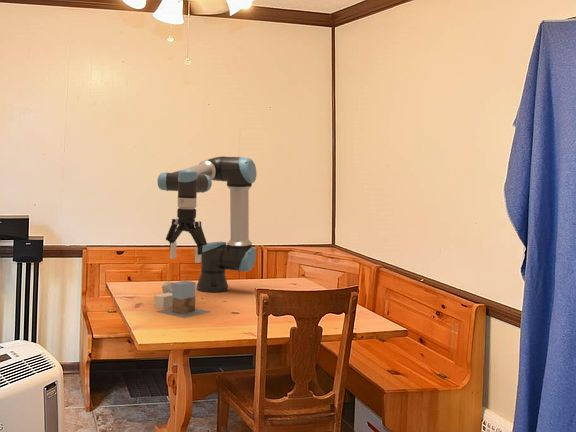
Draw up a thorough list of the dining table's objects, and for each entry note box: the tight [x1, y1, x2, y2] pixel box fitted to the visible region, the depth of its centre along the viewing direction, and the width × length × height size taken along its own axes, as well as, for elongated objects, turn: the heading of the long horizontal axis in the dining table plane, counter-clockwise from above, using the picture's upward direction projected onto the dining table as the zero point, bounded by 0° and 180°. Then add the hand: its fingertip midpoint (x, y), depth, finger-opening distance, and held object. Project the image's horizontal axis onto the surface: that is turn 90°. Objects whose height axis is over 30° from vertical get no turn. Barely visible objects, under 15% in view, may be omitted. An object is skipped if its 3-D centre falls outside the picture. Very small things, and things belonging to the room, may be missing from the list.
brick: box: [154, 293, 173, 310], centre depth 291 cm, size 8×5×6 cm, turn 146°
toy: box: [161, 280, 174, 294], centre depth 303 cm, size 6×12×15 cm
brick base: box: [171, 296, 196, 314], centre depth 283 cm, size 8×5×6 cm, turn 145°
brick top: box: [172, 280, 196, 299], centre depth 282 cm, size 8×5×6 cm, turn 146°
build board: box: [154, 307, 212, 319], centre depth 283 cm, size 16×16×1 cm
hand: (185, 260), depth 281 cm, fingers open, 13 cm apart
